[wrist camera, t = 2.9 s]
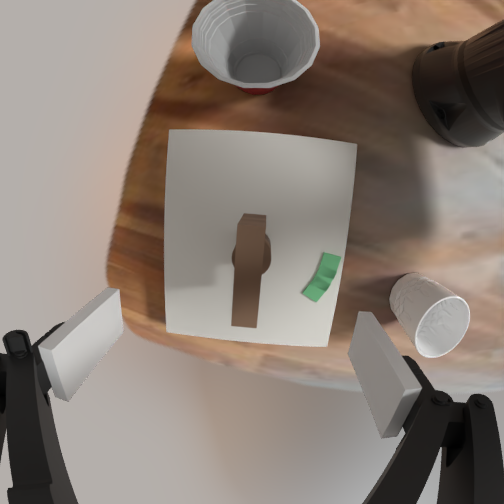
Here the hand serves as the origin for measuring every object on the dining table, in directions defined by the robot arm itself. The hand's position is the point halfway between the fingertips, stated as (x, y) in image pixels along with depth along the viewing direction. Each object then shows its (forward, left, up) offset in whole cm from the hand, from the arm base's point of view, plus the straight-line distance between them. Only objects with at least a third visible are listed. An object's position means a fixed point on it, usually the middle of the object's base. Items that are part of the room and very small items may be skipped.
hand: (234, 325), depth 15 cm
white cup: (+6, +22, -22) cm, 32 cm away
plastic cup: (-20, -1, -22) cm, 29 cm away
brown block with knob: (0, 0, -17) cm, 17 cm away
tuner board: (0, 0, -21) cm, 21 cm away
